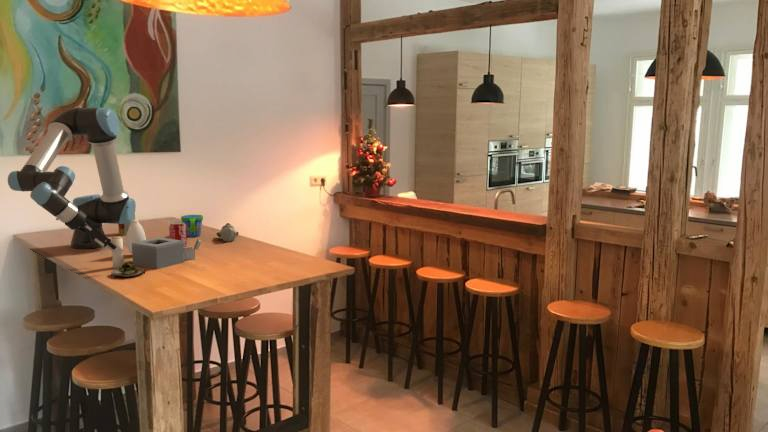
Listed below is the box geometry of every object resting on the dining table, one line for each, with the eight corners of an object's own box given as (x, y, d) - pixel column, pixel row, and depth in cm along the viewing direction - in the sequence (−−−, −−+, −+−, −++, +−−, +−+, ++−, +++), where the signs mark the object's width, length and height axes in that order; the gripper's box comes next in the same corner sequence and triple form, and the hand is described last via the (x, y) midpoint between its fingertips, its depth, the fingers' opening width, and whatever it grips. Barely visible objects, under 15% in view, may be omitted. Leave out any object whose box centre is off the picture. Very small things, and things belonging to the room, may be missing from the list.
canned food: (130, 231, 312) (128, 209, 311) (138, 233, 308) (137, 210, 306) (115, 234, 306) (114, 210, 304) (124, 236, 302) (123, 212, 300)
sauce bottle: (142, 252, 266) (140, 212, 264) (149, 255, 261) (147, 214, 258) (124, 255, 261) (121, 214, 258) (131, 258, 256) (129, 216, 253)
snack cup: (183, 233, 311) (182, 213, 310) (204, 232, 314) (204, 213, 312) (180, 239, 296) (179, 218, 295) (202, 238, 298) (201, 218, 297)
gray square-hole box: (132, 264, 245) (131, 242, 243) (160, 257, 257) (159, 237, 256) (157, 269, 238) (156, 246, 237) (184, 262, 251) (183, 240, 249)
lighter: (185, 260, 253) (185, 241, 252) (184, 259, 255) (183, 241, 254) (202, 258, 258) (201, 239, 257) (200, 257, 259) (200, 239, 258)
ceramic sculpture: (217, 225, 288) (216, 221, 302) (217, 243, 288) (216, 238, 303) (240, 224, 291) (237, 221, 305) (240, 242, 292) (238, 238, 306)
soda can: (181, 253, 266) (180, 224, 264) (166, 252, 267) (165, 223, 265) (190, 250, 273) (189, 221, 270) (175, 249, 274) (174, 221, 272)
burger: (111, 280, 222) (109, 261, 221) (111, 273, 232) (110, 254, 231) (146, 277, 227) (145, 258, 225) (144, 270, 237) (143, 251, 236)
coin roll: (110, 267, 239) (109, 237, 237) (119, 265, 243) (117, 236, 241) (117, 269, 238) (115, 238, 236) (126, 267, 241) (124, 237, 239)
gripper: (55, 219, 234) (98, 252, 246) (73, 228, 215) (119, 263, 227) (69, 204, 236) (111, 237, 248) (88, 212, 218) (132, 248, 230)
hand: (115, 250), depth 238 cm, fingers open, 13 cm apart
